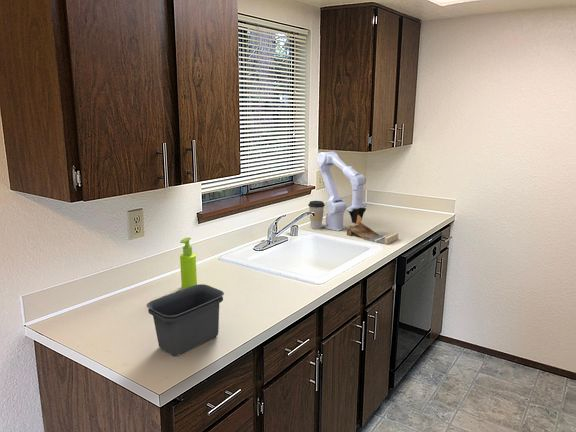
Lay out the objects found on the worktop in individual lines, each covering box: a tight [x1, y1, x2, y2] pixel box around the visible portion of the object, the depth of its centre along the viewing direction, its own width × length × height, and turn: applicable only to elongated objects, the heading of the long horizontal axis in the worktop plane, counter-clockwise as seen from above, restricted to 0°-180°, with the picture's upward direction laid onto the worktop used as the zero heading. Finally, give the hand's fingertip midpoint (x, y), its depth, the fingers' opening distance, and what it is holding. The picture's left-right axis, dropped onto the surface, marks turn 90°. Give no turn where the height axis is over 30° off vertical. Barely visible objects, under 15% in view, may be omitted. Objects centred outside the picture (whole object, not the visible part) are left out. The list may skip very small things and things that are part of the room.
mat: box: [363, 232, 399, 246], centre depth 244 cm, size 14×12×3 cm
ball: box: [353, 215, 363, 225], centre depth 252 cm, size 5×5×5 cm
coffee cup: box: [307, 200, 326, 230], centre depth 265 cm, size 9×9×15 cm
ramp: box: [346, 222, 379, 240], centre depth 251 cm, size 14×10×7 cm
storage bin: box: [146, 283, 225, 357], centre depth 140 cm, size 21×16×14 cm
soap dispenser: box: [179, 237, 198, 290], centre depth 179 cm, size 6×7×20 cm
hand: (356, 221), depth 252 cm, fingers closed on ball, 5 cm apart
